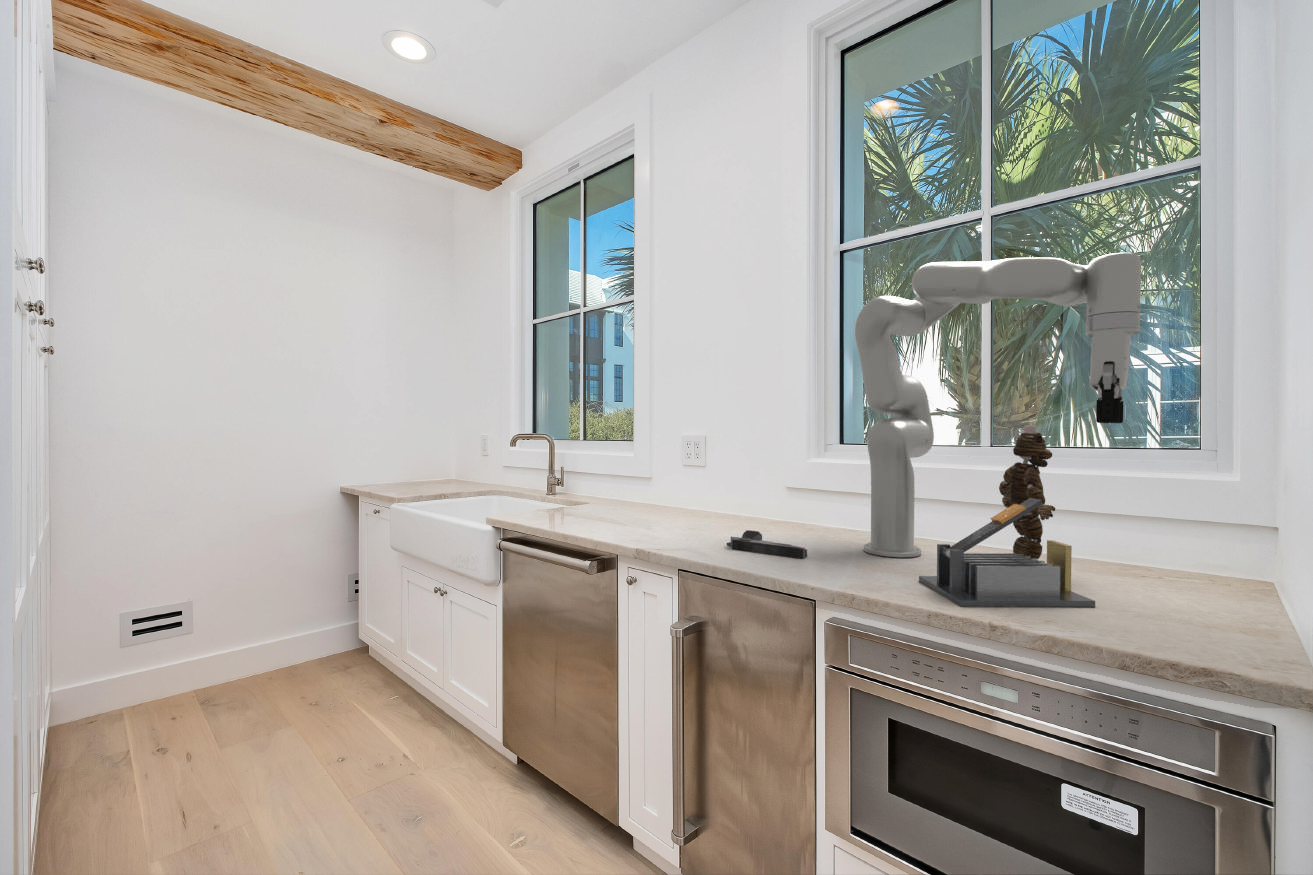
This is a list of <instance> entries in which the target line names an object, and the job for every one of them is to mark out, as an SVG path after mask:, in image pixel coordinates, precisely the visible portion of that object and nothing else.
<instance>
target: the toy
mask: <svg viewBox="0 0 1313 875" xmlns="http://www.w3.org/2000/svg"><path fill="white" fill-rule="evenodd" d="M1023 426H1024V427H1023V429H1024V431H1022V432H1021V433H1020V435H1019V436H1018V438H1017V439H1016V442H1015V445H1014V447H1013V450H1012V452H1013V455H1014V456H1016V457H1019V458H1020V459H1022V460H1023V461H1022V462H1015V463H1013V465H1011V466H1009V467H1008V468H1007V469H1006V470H1005V472H1004V474H1003V480H1002V481H1001V482H1000V483H999V487H998V488H999V489H998V490H999V492H1000V495H1002V498H1001V502H1002V504H1003V506H1004V507H1005V508H1006V509H1007V508H1008V507H1010V506H1011V505H1013V504H1018V505H1019V504H1021V503H1023V502H1024V501H1026V500H1028V499H1029V498H1034V499H1039V500H1041V501H1042V502H1043V504H1042V505H1040V506H1039V507H1037V508H1036V509H1034V510H1032V511H1031V512H1029V513H1027V514H1026V515H1024V516H1023V517H1021V518H1019V519H1018V520H1016V521H1014V522H1013V523H1012V526H1013V527H1014V529H1015V531H1016V532H1017V533H1018V534H1019V535H1020V537H1017V538H1016V539H1015V540H1014V543H1013V546H1012V553H1022V554H1024V556H1031V558H1037V559H1038V560H1039V559H1040V558H1041V556H1042V553H1043V545H1042V544H1041V543H1042V535H1043V533H1044V532H1043V531H1044V530H1043V523H1042V521H1045V520H1049V519H1050V518H1053V517H1054V515H1053V512H1055V511H1056V507H1055V506H1053V505H1049V504H1046V497H1045V495H1044V486H1043V482H1042V479H1041V476H1040V474H1041V471H1040V468H1046V467H1047V466H1048V463H1049V462H1048V461H1047V460H1049V459H1051V458H1052V457H1053V453H1052V451H1051V450H1050V449H1048V448H1047V445H1046V441H1045V439H1044V438H1043V436H1042V433H1041V432H1038V431H1037V426H1038V425H1023ZM1028 462H1029V463H1028Z"/></svg>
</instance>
